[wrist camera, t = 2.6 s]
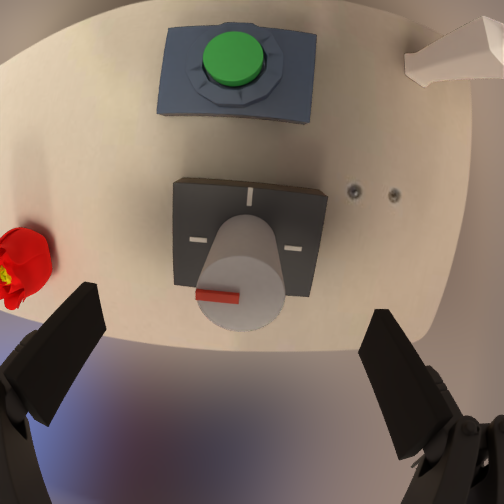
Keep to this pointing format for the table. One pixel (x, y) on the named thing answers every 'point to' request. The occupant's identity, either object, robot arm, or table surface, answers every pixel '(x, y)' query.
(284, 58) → the button block
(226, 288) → the dial
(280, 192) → the dial panel
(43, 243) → the flower
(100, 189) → the table surface
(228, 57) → the button
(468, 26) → the perfume bottle
